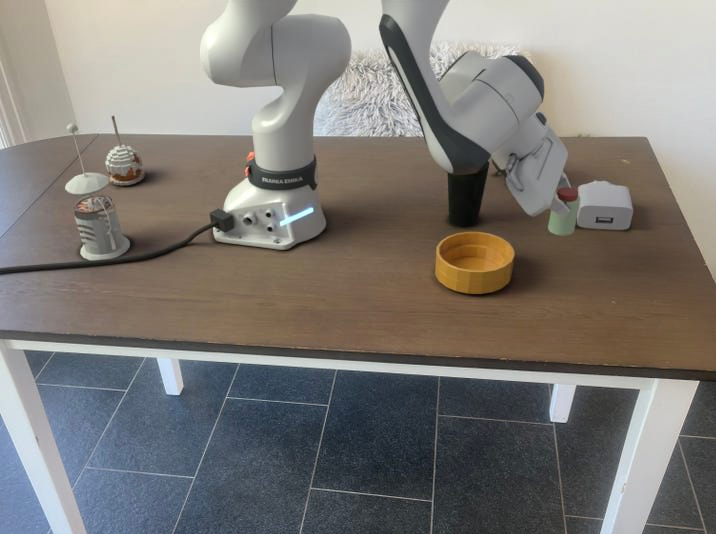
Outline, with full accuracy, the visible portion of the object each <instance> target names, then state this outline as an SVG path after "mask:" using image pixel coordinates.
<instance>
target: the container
mask: <svg viewBox="0 0 716 534" xmlns="http://www.w3.org/2000/svg"><path fill="white" fill-rule="evenodd" d="M571 187H572V186H571ZM571 187H563V188H560V189H559V190H558V189H557V192H555V193H556V194H557V195H558V199H560V200H561V201H562V202H563V203H564V202H566V203H567V204H568V206H570V208H571V210H570V213H569V215H568V216H566V217H564V218H560V217H559V216H558V215H557V214H556V213H555V212H554V211H552V210H550V214H549V220H548V223H547V224H548V225H547V230H548V231H549V232H550V234H553V235H556V236H570V235H572V234H574V232H575V228H576V223H577V213H578V209H579V204H580V199H581V198H580V196H579V195H578V189H576V188H574V187H572V188H571Z"/></svg>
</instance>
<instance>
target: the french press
mask: <svg viewBox="0 0 716 534" xmlns="http://www.w3.org/2000/svg"><path fill="white" fill-rule="evenodd" d="M78 128H79V127H78V126H77V125H76V123H69V124H67V125H66V132H67V133H70V134H71V133H72V136H73V140H74V144H75V147H76V150H77V154H78V157H79V161H80V166H81V169H82V172H83V173H81V174H78V175H74V177H72V178H71V179H70V180H69V181H68V182H67V183H66V184H65V187H64V190H65V191H66V192H67V193H68V194H70V195H73V196H79V197H80V196H82V198H80V199H78V200H77V201H75V203H74V204H73V209H74V214H73V215H74V220H75V222H76V225H78V226H77V229H78V231H80V232H79V235H80V237H81V242H82V243H83V244H82V247H80V252H79V253H80V255H81V257H82V258H83V259H86V260H87V261H91V260H101V259H110V258H119V257H120V256H122V255H123V254H125V253H126V252H127V251H128V250H129V249H130V246H131V243H130V242H131V241H130V240H129V239H128V238H127V237H125V236H124V234H123V231H122V228H121V224H120V219H119V215H118V212H117V208H116V205H115V203H113V198H111V196H109V195H107V194H99V193H100V192H102V191H104V190H105V189H106V188H107V186H108V185H109V183H110V179H109V177H108V176H107V175H106V174H102V173H99V172H86V171H85V167H84V164H83V160H82V156H81V153H80V150H79V146H78V143H77V139H76V135H75V133H76V132H77V131H78V130H79V129H78ZM97 193H98V194H97ZM83 196H84V197H83ZM110 210H113V211H111V212H108V211H110ZM101 212H105V213H101ZM105 218H107V219H105ZM108 223H109V224H108ZM107 224H108V225H107ZM108 229H109V230H108Z"/></svg>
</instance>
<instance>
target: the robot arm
mask: <svg viewBox="0 0 716 534" xmlns="http://www.w3.org/2000/svg"><path fill="white" fill-rule="evenodd" d="M298 1H299V0H228V1H227V4H226V6H225V9H224V10H223V12H222V14H220V16H219V17H218V18H217V19H216V20H214V22H212V23H210V24H209V25H208V27H207V28H206V29H205V30H204V31H203V34H202V36H201V39H200V43H199V61H200V64H201V66H202V69H203V71H204V73H205V74H206V76H207V77H208V78H209V80H210V81H211V82H212V83H213V84H215V85H219V86H227V87H231V88H232V87H233V88H239V89H242V88H244V89H245V88H262V87H265V88H266V87H280V88H282V91H283V92H282V93H281V94H280V95H279V96H278V97H277V98H275V99H273V100H272V101H270V102H269V103H267V104H265V105H263V106H262V107H261V108H260V109H259V110H258V111H257V112H256V114H254V117H253V119H252V121H251V134H252V142H253V151H250V152H249V154H248V156H247V158H246V164H245V170H244V172H245V178H244V179H242V180H241V181H240V182H239V183H237V185H235V186H234V187H233V188H232V189H231V190H230V191H229V192H228V194H227V196H226V198H225V200H224V203H223V208H222V209H221V208H216V209H214V210H213V211H211V212H209V219H210V220H209V221H210V223H209V224H206V225H204V226H202V227H201V228H198V229H197V230H195V231H194V232H193V233H191V234H190V235H189V236H188V237H187V238H185V239H183V240H182V241H180V242H178V243H176V244H173V245H170V246H168V247H165V248H162V249H157V250H155V251H151V252H147V253H143V254H137V255H136V254H135V255H129V256H121V257H120V256H118V257H115V258H110V259H101V260H80V261H68V262H67V261H66V262H56V263H55V262H52V263H39V264H28V265H16V266H6V267H0V274H1V273H10V272H21V271H33V270H34V271H35V270H45V269H59V268H72V267H73V268H74V267H84V266H97V265H105V264H106V265H107V264H115V263H123V262H133V261H139V260H144V259H149V258H152V257H157V256H160V255H164V254H167V253H171V252H173V251H175V250H177V249H179V248H182V247H184V246H186V245H187V244H189V243H191V242H192V241H193V240H194V239H195V238H196V237H197V236H199V235H201V234H203V233H204V232H206V231H209V230H210V229H212V230H213V231H212V233H213V237H214V239H215V241H216V242H218V243H224V244H232V245H240V246H248V247H255V248H264V249H271V250H280V251H286V250H289V249H291V248H292V247H294V246H295V245H297V244H299V243H302V242H303V243H304V242H305V241H308V240H311V239H313V238H316V237H317V236H319V235H320V234H321V233H322V232H323V231H324V230H325V228H326V226H327V220H326V217H325V214H324V212H323V207H322V205H321V201H320V196H319V191H318V184H319V166H318V162H317V155H316V154H315V152H314V151H315V149H314V124H315V116H316V111H317V108H318V105H319V103H320V102H321V99H322V98H323V96H324V94H325V93H326V91H327V90H328V89H329V88H330V87H331V86H332V85H333V84H334V83H335V82H336V81H337V80H339V79H340V78H341V77H342V76H343V74H344V73H345V72H346V70H347V68H348V67H349V64H350V62H351V58H352V53H353V52H352V51H353V48H352V39H351V36H350V33H349V30H348V29H347V27H346V25H345V23H343V21H342V20H341V19H340V18H339V17H336V16H330V15H324V14H317V13H302V14H301V13H300V14H298V13H297V14H290V13H291V11H292V10H293V9H294V7H295V6H296V5H297V3H298ZM450 1H451V0H380V2H381V13H382V16H381V18H380V21H379V24H378V31H379V35H380V40H381V42H382V45H383V48H384V50H385V52H386V54H387V57H388V60H389V61H390V64H391V66H392V69H393V70H394V73H395V76H396V77H397V79H398V81H399V83H400V86H401V88H402V90H403V92H404V94H405V96H406V97H407V98H406V99H407V100H408V103H409V106H411V109H412V111H413V113H414V115H415V117H416V119H417V122H418V124H419V126H420V127H419V128H420V130H421V133H422V136H423V139H424V142H425V144H426V147H427V149H428V151H429V154H430V155H431V157H432V160H433V161H434V162H435V163H436V164H437V166H438V167H440V168H441V169H443V170H444V171H445V172H446V173H447V174H448V173H449V174H451V175H467V174H473V173H477V172H478V171H479V170H480V169H481V168H482V166H483V165H484V164H485V163H486V162H487V161H489V160H491V159H492V160H493V161H494V162H495V163H496V165H497V166H498V167H499V168H500V169H501V170H505V172H506V174H507V177H506V176H505V184H506V186H507V188H508V191H509V192H510V193H511V195H512V196H513V197H514V199H515V201H516V202H517V203H518V204H519V206H520V207H521V208H522V209H523V211H524V213H526V215H528V216H530V217H532V218H535V217H537V216H538V215H540V214H541V213H543V212H545V211H546V210H547V209H549V210H550V211H551V210H552V211H554V212H555V213H556V214H557V215H558V216H559V217H560V218H564V217H566V216H568V215H569V213H570V210H571V208H570V206H568V204H567V203H566V202H564V203H563V202H562V201H561V200H560V199H558V195H557V194H556V193H557V192H556V191H558V190H559V189H560V188H563V187H571V188H573V187H572V186H571V183H570V181H569V179H568V176H567V174H566V173H565V172H564V169H565V165H566V163H567V160H568V158H569V153H568V150H567V148H566V146H565V144H564V143H563V141H562V140H561V138H560V137H559V136H558V134H557V133H556V131H555V130H554V129H553V128H552V127H551V125H550V124H549V123H548V117H547V116H546V115H545V113H544V112H543V111H542V110H538V109H539V108H540V107H541V105H542V104H543V103H544V98H545V80H544V78H543V76H542V75H541V73H540V71H538V69H537V68H536V67H535V66H534V64H533V63H532V62H531V61H530V60H529V59H528V58H527V57H525V56H523V55H517V54H507V55H502V56H501V57H499V58H486V57H484V56H483V55H481V54H480V53H479V52H478V51H477V50H474V49H471V50H468V51H465V52H464V53H463V54H461V55H460V56H458V57H457V58H456V59H455V60H454V61H453V62H452V64H450V66H448V68H447V69H446V70H445V71H444V72H443V74H442V75H441V76H440V78H439V80H438V79H437V76H436V74H435V72H434V69H433V67H432V64H431V60H430V59H431V58H430V55H431V54H430V52H431V46H432V41H433V38H434V35H435V32H436V29H437V27H438V25H439V23H440V20H441V19H442V16H443V14H444V13H445V10H446V9H447V7H448V5H449V3H450ZM492 160H491V161H492Z"/></svg>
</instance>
